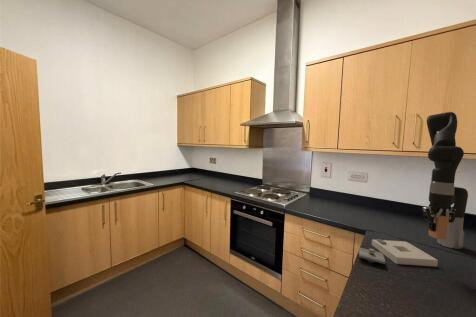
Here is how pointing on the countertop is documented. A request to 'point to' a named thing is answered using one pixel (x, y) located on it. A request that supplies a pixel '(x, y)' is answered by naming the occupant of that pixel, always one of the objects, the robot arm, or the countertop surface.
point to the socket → (404, 253)
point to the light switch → (371, 255)
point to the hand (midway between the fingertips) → (437, 230)
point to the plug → (440, 228)
